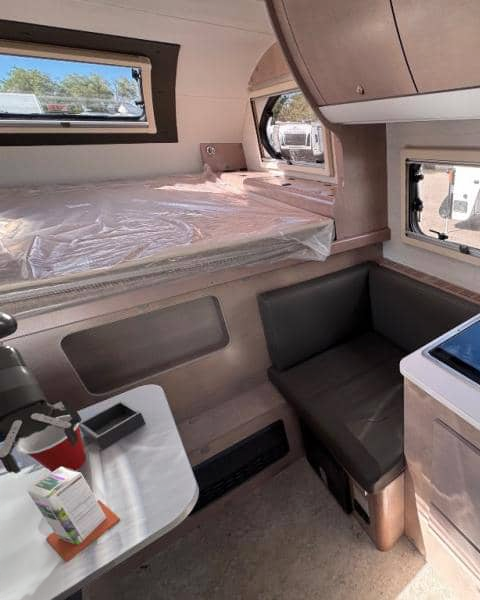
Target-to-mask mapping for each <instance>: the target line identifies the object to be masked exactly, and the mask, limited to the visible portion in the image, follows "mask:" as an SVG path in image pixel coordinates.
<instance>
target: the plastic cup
mask: <svg viewBox="0 0 480 600" xmlns="http://www.w3.org/2000/svg"><path fill="white" fill-rule="evenodd" d="M55 418H56V419H59V420H62V421H66V422H69V421H70V420H71V419H72V418H71V416H70V414H66V415H60V416H57V417H55ZM79 423H80V422H79ZM79 423H77V424H76V425H75V426H74V427H73V429H74V431H75V433H76V435H77V437H78V441H77V442H76V445H74V446H72V445H71V443H70V441H69V440H68V438H67V436H66V434H65V432H64V429H61V428H56V427H52V426H48V427H47V428H45V430H43V431H40V432H36V433H34V434H32V435H31V436H29V437H27V438H20V439H19V441H18V443H17V445H16V446H15V447H16V450H17V452H18V453H20V454H22V455H23V454H24V455H27V456H30V457H31V458H33V459H34V460H35V461H36V462H38V463H39V464H40V465H42V466H43V467H44V468H46V469H48V470H49V471H50V473H52V472H53V471H55V470H56V469H58V468H60V467H65V468H68V469H71V470H74V471H76V472H77V470H79V469H80V468H82V467H83V465H84V464H85V463H86V459H87V455H86V452H85V446H84V441H83V437H82V434H81V430H80V428H79Z"/></svg>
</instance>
